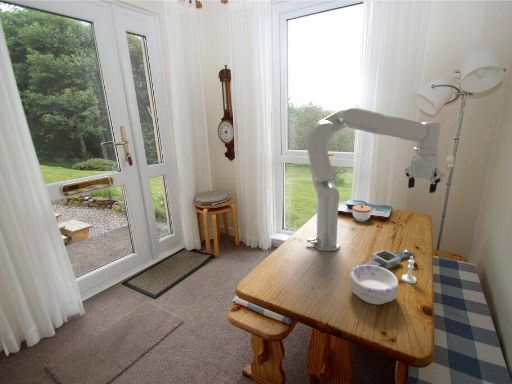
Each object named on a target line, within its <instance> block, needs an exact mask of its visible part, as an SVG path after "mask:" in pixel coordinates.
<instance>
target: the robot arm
mask: <svg viewBox="0 0 512 384" xmlns="http://www.w3.org/2000/svg"><path fill="white" fill-rule="evenodd" d="M345 128H348V129H354V130H357V131H362V132H365V133H370V134H375V135H380V136H388V137H389V136H390V137H394V138H399V139H401V140H405V141H410V142H416V147H414V148H413V151H414V152H415V153H414V154H413V156H412V158H411V161H410V166H409V167H406V168H404V173H405V175H406V177H407V180H408V181H407V183H408V184H407V187H408V189H411V188H412V189H413V188H415V183H416V181H415V180H416V178H417V179H425V180H429V181H430V182H431V183H430V184H429V192H428V193H430V194H433V193H436V191H437V187H438V184H439V183H440V182H442V181H443V179H444V178H445V177H446V174H445V173H443V172H442V171H440V170H439V155H437V153H438V149H439V148H438V147H439V139H440V132H441V123H440V122H439V121H424V122H421V121H420V122H419V121H416V120H412V119H411V120H410V119H409V118H408V119H407V118H402V117H399V116H398V117H397V116H393V115H391V114H390V115H389V114H386V113H380V112H376V111H371V110H367V109H363V108H360V107H355V106H346V107H343V108H340V109H339V110H337V111H335V112H333V113H331V114H330V115H328V116H326V117H325V118H323V119H321V120H319V121H317V123H315V124H314V126H313V130H312V131H311V133H310V135H309V137H308V139H307V144H306V146H307V155H308V158H309V163H310V167H309V168H310V169H309V170H310V175H311V178H312V183H313V186H314V189H315V193H316V195H317V209H316V216H317V217H316V234H315V235H314V237H313V238H306V241H307V243H310V244H311V245H313V247H314V248H315V249H317V250H319V251H322V252H335V251H337V250H339V249H340V248H341V243H340V242H339V241H338V220H339V218H338V217H339V214H338V213H339V205H340V204H339V203H340V192H339V189H338V187H337V186H336V184H334V179H333V172H334V171H333V168H332V165H331V160H330V156H329V151H328V143H329V141H330V140H331V139H332V138H333V137H334V136H335V134H336V133H337V132H340V131H342V130H343V129H345Z"/></svg>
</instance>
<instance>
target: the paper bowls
mask: <svg viewBox="0 0 512 384" xmlns="http://www.w3.org/2000/svg"><path fill="white" fill-rule="evenodd" d="M355 266H356V265H355ZM355 266H354V267H353V268H352V269H351V270H350V275H349V286H350V289H351V291H352V292H353V293H354V295H356V296H357V297H359V299H361V300H362V301H364V302H366V303H368V304H372V305H383V304H385V303H390V302H392V301H394V300H395V299H396V298H397V296H398V291H399V283H400V282H399V278H397V276H396V275H395V274H394V273H393V272H392V271H391V270H389V269H386V268H384V267H379V266H375V265H360V266H356V267H355Z"/></svg>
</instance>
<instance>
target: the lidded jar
mask: <svg viewBox="0 0 512 384" xmlns="http://www.w3.org/2000/svg"><path fill="white" fill-rule="evenodd" d="M372 209H373V208H372V207H371V206H368V205H366V204H365V205H364V204H356V205H353V206H352V216H353V218H354V219H355V220H356V221H358V222H361V223H363V222H367V221H368V220H369V219H370V217H371V214H372Z"/></svg>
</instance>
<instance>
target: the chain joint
mask: <svg viewBox="0 0 512 384" xmlns="http://www.w3.org/2000/svg"><path fill="white" fill-rule="evenodd" d="M415 254H416V253H415V252H412V251H411V250H410V249H408V248H405V249H401V250H399V251H396V252H391V251H389V250H387V249H383V250H379V251H376V252H374V253H371V255H370V256H371V259H370V260H369V261H366V262H365V261H364V262H363V263H359V264H357V265H355V266H354V268H355V267H356V266H360V265H375V266H379V267H382V268H385V269H387V270H389V269H390V268H393V267H396V266H399V265H401V262H402V261H404V260H407V259H408V258H409V259H410V257H411V256H413V257H414V256H415ZM384 258H386V259H388V260H386V259H384Z"/></svg>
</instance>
